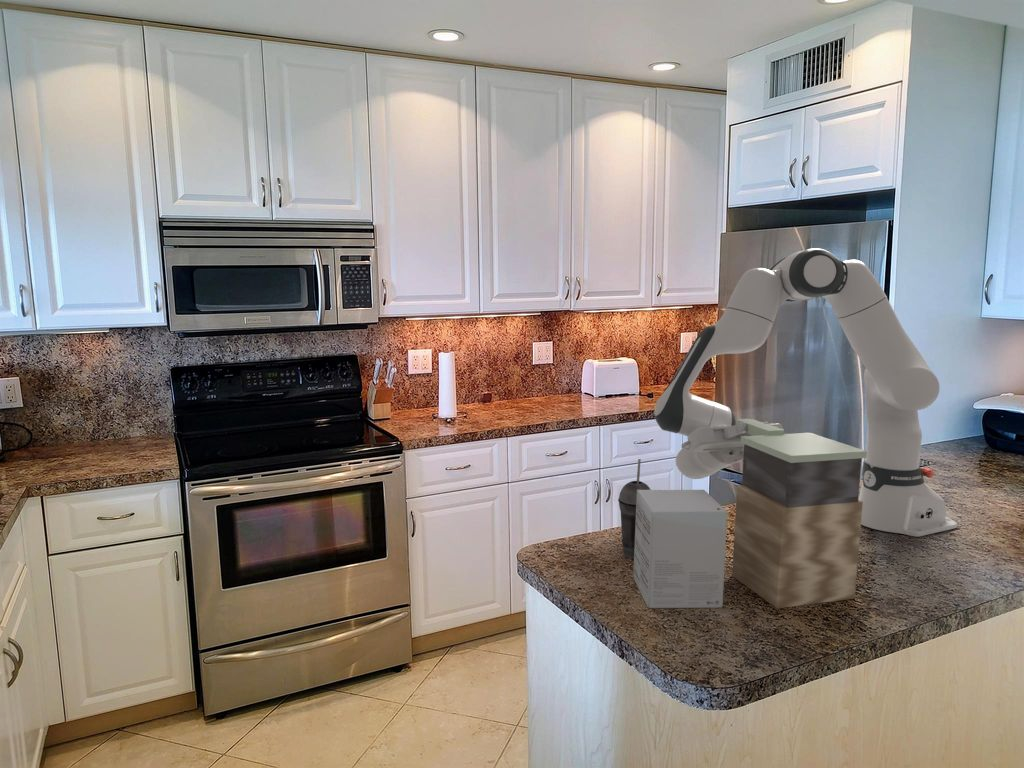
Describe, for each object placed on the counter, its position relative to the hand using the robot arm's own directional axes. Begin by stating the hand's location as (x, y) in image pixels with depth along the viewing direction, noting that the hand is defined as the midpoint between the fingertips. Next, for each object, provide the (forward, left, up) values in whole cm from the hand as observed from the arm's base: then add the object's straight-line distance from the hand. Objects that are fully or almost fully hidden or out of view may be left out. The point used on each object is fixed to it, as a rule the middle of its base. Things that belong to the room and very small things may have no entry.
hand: (755, 425), depth 141 cm
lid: (0, +9, -1) cm, 9 cm away
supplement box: (+22, +11, -28) cm, 37 cm away
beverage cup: (+22, -7, -28) cm, 36 cm away
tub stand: (0, +14, -28) cm, 31 cm away
